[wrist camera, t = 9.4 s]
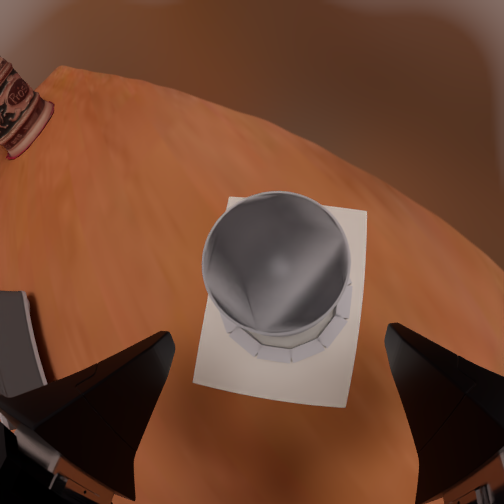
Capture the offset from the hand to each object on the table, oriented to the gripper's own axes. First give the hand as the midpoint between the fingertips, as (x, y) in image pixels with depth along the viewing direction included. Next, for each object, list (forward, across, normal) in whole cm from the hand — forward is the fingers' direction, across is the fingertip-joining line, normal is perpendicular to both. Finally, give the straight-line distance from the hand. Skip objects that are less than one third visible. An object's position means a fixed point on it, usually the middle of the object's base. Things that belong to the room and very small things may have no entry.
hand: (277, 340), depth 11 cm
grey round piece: (+9, 0, -5) cm, 11 cm away
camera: (+5, -29, -11) cm, 31 cm away
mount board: (+10, 0, -5) cm, 11 cm away
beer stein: (+33, -50, +19) cm, 63 cm away
